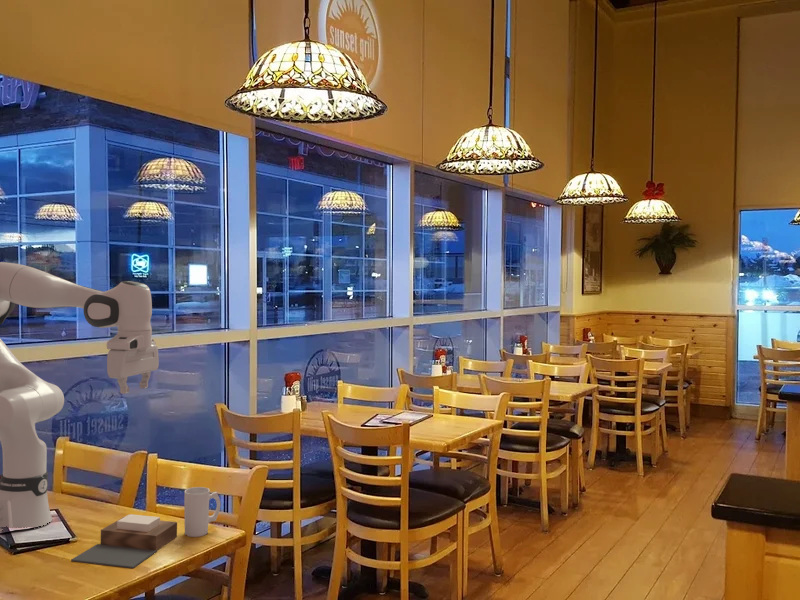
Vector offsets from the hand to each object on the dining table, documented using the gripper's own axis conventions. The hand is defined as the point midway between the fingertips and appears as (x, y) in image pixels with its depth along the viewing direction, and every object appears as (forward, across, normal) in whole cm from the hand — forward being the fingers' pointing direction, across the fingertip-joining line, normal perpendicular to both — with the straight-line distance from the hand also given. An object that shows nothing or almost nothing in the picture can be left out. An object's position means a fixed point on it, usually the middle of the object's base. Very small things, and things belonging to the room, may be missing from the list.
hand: (134, 390), depth 203 cm
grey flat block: (+36, +5, +5) cm, 36 cm away
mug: (+40, -6, +18) cm, 44 cm away
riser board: (+40, +5, +5) cm, 40 cm away
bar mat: (+40, +16, +5) cm, 43 cm away
